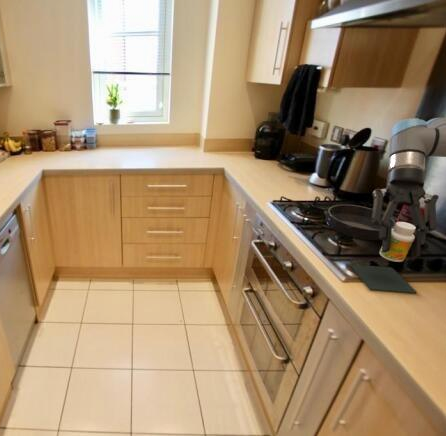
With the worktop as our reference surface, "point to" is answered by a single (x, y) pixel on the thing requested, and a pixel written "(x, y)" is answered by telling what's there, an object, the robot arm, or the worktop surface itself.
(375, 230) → the pan
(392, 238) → the supplement bottle
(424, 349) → the worktop surface
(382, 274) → the mat
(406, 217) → the red supplement tub
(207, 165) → the worktop surface
